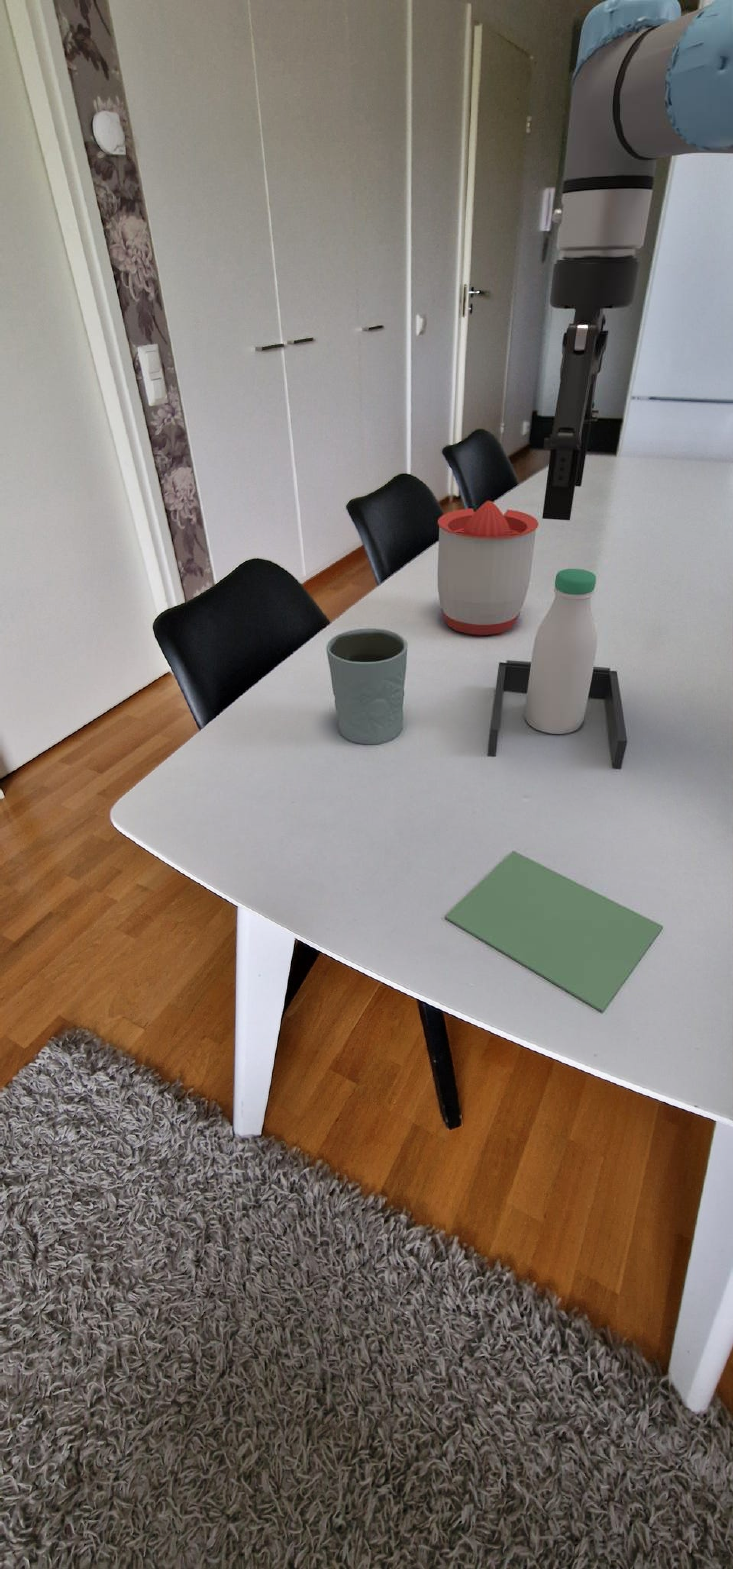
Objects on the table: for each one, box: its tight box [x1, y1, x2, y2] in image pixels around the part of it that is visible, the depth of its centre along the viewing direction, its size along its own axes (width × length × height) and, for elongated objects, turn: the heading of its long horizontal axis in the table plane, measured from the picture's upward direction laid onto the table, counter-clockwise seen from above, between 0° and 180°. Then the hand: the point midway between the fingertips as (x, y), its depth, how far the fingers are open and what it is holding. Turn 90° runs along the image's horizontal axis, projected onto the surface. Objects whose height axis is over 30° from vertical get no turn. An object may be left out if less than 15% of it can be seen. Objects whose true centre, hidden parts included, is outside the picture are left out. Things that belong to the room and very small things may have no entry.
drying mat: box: [444, 850, 664, 1014], centre depth 65 cm, size 16×12×1 cm
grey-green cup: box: [326, 627, 409, 746], centre depth 90 cm, size 10×10×12 cm
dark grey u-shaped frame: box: [487, 659, 628, 770], centre depth 92 cm, size 18×16×5 cm
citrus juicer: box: [436, 500, 539, 636], centre depth 115 cm, size 16×17×20 cm
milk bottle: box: [524, 568, 598, 735], centre depth 88 cm, size 8×8×20 cm
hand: (562, 501), depth 76 cm, fingers open, 13 cm apart
